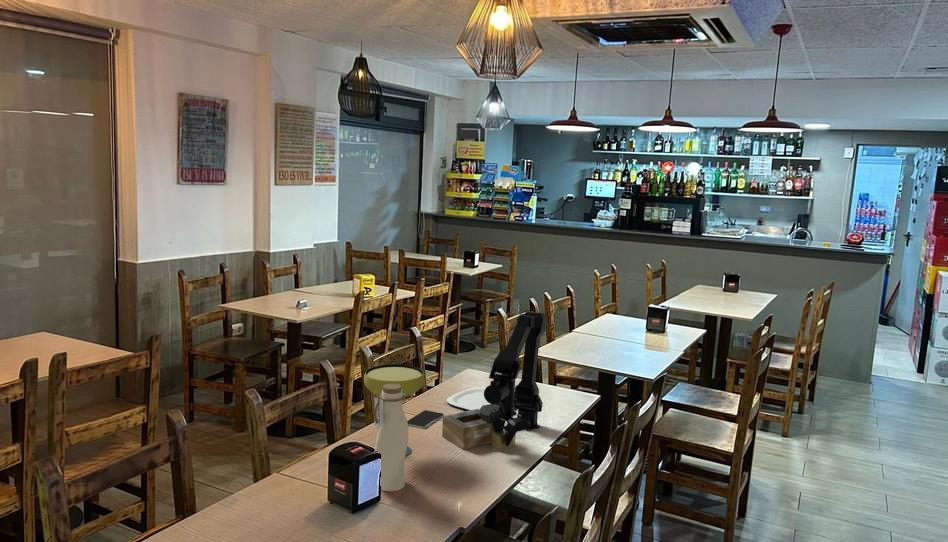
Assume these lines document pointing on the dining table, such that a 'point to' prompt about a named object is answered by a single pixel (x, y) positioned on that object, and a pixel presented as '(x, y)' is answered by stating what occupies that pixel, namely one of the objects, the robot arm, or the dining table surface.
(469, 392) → the plate
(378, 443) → the water bottle
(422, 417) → the smartphone
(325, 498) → the dining table surface
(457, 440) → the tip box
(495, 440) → the wooden block
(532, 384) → the robot arm
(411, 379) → the cocktail glass
